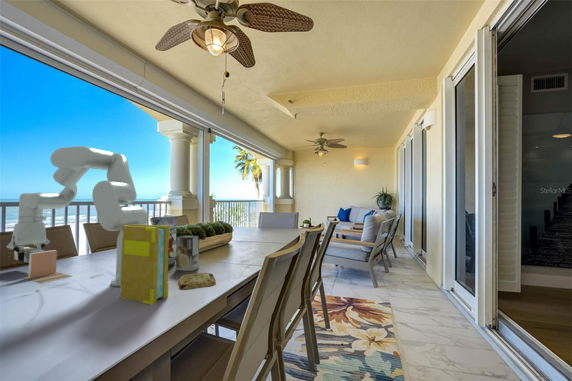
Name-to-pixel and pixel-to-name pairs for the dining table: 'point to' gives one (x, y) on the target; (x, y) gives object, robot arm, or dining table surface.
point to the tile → (42, 263)
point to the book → (145, 262)
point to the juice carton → (170, 221)
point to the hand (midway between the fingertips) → (28, 259)
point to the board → (48, 277)
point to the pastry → (196, 281)
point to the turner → (27, 253)
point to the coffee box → (187, 253)
